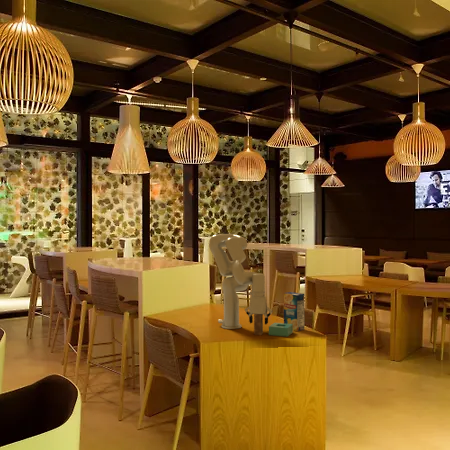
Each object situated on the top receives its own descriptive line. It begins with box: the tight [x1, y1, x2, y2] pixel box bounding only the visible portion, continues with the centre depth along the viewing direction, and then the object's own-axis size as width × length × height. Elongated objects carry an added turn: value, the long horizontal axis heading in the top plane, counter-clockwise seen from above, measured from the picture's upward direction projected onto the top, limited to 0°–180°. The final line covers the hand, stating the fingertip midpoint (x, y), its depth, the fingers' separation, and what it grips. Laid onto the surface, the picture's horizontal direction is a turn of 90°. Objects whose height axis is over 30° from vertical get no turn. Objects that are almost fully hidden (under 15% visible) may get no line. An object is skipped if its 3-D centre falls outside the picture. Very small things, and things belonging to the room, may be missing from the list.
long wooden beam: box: [253, 314, 264, 336], centre depth 307 cm, size 4×4×14 cm
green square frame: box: [268, 322, 294, 338], centre depth 308 cm, size 11×11×5 cm
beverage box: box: [283, 291, 305, 332], centre depth 320 cm, size 7×11×22 cm, turn 42°
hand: (258, 323), depth 307 cm, fingers open, 8 cm apart
